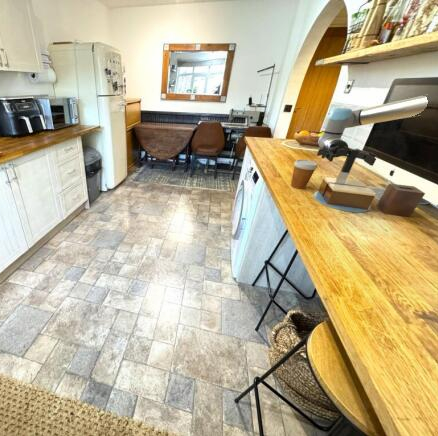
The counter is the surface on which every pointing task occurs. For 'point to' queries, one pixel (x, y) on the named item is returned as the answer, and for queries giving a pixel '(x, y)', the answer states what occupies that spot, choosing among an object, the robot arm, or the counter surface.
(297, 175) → the disposable coffee cup
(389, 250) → the counter surface
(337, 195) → the cake
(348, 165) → the cake knife
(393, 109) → the robot arm
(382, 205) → the knife block
